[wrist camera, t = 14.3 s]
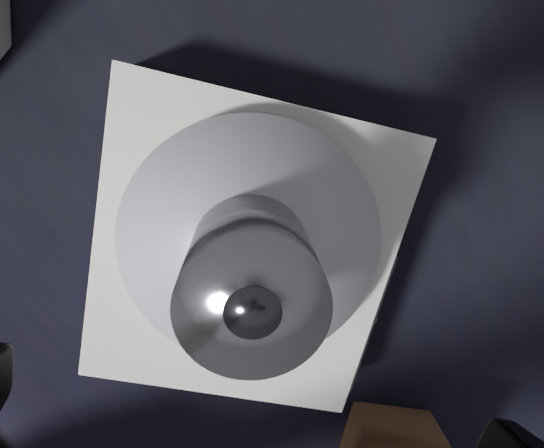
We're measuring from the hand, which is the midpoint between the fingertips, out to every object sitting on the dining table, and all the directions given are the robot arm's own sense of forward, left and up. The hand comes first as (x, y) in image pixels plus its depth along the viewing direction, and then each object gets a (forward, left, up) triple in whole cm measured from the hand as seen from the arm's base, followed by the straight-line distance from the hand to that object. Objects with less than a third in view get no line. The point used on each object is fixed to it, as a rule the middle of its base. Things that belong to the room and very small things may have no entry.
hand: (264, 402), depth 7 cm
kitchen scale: (-1, 0, -12) cm, 12 cm away
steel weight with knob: (0, 0, -8) cm, 8 cm away
